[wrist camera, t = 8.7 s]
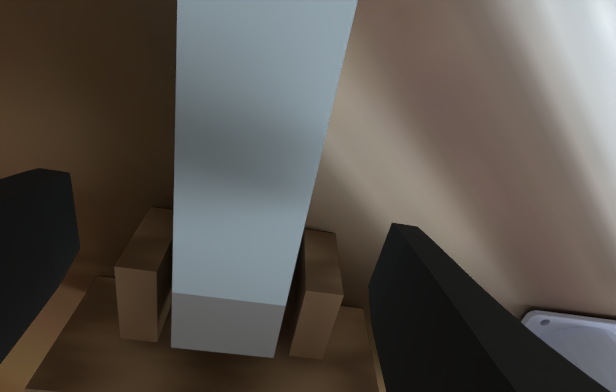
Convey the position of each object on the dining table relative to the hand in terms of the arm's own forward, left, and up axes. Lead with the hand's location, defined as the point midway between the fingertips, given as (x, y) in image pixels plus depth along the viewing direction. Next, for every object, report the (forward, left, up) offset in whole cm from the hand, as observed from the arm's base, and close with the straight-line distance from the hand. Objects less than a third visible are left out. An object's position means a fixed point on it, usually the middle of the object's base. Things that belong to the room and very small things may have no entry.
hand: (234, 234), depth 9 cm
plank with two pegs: (0, +9, -8) cm, 12 cm away
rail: (0, 0, -8) cm, 8 cm away
